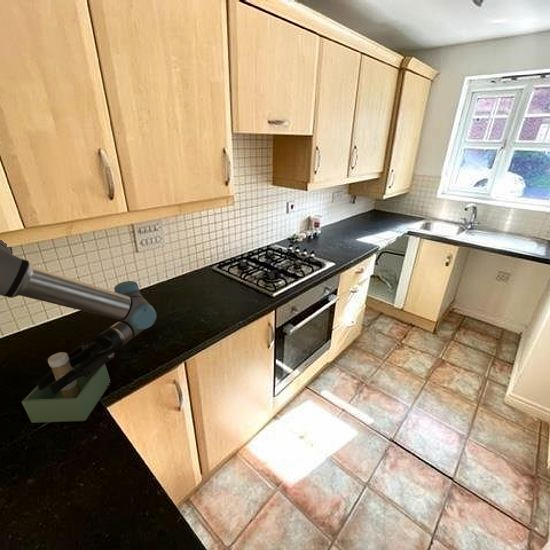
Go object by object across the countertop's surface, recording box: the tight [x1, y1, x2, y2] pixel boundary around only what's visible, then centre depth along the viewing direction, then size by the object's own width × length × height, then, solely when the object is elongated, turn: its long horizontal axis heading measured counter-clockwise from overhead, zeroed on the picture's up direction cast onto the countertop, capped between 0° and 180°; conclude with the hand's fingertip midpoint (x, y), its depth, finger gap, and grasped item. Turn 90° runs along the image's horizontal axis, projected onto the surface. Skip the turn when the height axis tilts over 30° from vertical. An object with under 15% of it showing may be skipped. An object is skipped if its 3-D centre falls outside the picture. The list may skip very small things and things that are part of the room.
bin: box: [21, 363, 112, 424], centre depth 87 cm, size 15×15×8 cm
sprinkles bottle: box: [47, 351, 80, 398], centre depth 85 cm, size 5×5×14 cm
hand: (45, 387), depth 80 cm, fingers closed on sprinkles bottle, 4 cm apart
